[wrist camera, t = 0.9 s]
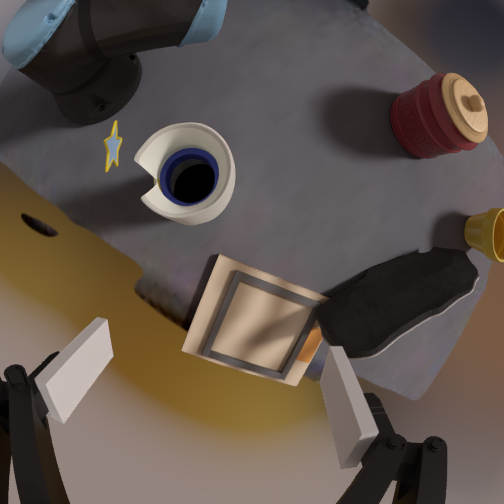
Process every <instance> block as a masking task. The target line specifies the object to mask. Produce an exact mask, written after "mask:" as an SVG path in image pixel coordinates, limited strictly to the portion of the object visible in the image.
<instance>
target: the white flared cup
mask: <svg viewBox="0 0 504 504" xmlns="http://www.w3.org/2000/svg"><path fill="white" fill-rule="evenodd" d="M122 140H123V138H121V137H117V120H115V121H114V124H113V127H112V131H111V135H110V136H109V137H108V138H106V139H105V140H104V145H105V147H106V150H107V157H106V166H105V172H108V170H109V168H110V166H111V164H112V162H113V163H114V165H115V166H116V167H118V151H119V148H120V145H121V143H122ZM134 161H136V162H137V163H138V164H140V165H141V166H142V167H143V168H144V169H145V170H147V171H148V172H149V173H150V174H151V175H152V176H153V177H154V187H153V188H152V189H151V190H150V191H149V192H147V193H146V194H145V195H143V196H142V197H141V200H142V202H143V203H144V204H145V205H146V206H147V207H149V208H150V209H151V210H152V211H154V212H155V213H157V214H159V215H161V216H163V217H165V218H168V219H170V220H173V221H176V222H178V223H181V224H185V225H196V224H201V223H204V222H208V221H210V220H212V219H214V218H215V217H217V216H218V215H219V214H220V213H221V212H222V211H223V210H224V209H225V207H226V206H227V204H228V202H229V201H230V198H231V196H232V193H233V190H234V185H235V165H234V160H233V157H232V154H231V151H230V149H229V147H228V145H227V143H226V142H225V140H224V139H223V138H222V137H221V136H220V135H219V134H218V133H217V132H216V131H215V130H213V129H212V128H210V127H208V126H206V125H204V124H200V123H194V122H189V123H180V124H174V125H171V126H168V127H165V128H163V129H161V130H159V131H158V132H156V133H155V134H153V135H152V136H151V137H150V138H149V139H148V140H147V141H146V142H145V143H144V145H143V146H142V147H141V148H140V149H139V151H138V152H137V154H136V156H135V158H134ZM195 164H208V165H209V166H210V167H211V168H212V169H213V171H214V174H215V183H214V187H213V189H212V191H211V192H210V193H209V195H208V196H207V197H205V198H204V199H203V200H201V201H198V202H195V203H184V202H181V201H180V200H178V199H177V198H176V197H175V196H174V185H175V182H176V179H177V178H178V176H179V175H180V173H181V172H182V171H183V170H185V169H186V168H188V167H189V166H192V165H195Z"/></svg>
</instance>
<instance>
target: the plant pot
mask: <svg viewBox="0 0 504 504" xmlns="http://www.w3.org/2000/svg"><path fill="white" fill-rule="evenodd" d="M464 236H465V240H466V242H467V244H468V245H469V246H471V247H473V248H475V249H476V250H478V251H480V252H482V253H484V254H485V255H486V257H487V258H488V259H490V260H493V261H497V262H504V208H492V209H490V210H489V211H488V212H486V213H482V214H478V215H474V216H470V217H469V218H468V220H467V221H466V224H465V229H464Z"/></svg>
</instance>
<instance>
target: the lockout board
mask: <svg viewBox="0 0 504 504" xmlns="http://www.w3.org/2000/svg"><path fill="white" fill-rule="evenodd" d="M329 299H330V298H329V297H326V296H323V295H321V294H318V293H316V292H313V291H311V290H308V289H306V288H303V287H301V286H298V285H296V284H293V283H291V282H288V281H286V280H283V279H281V278H278V277H276V276H273V275H271V274H268V273H266V272H263V271H261V270H258V269H256V268H253V267H251V266H248V265H246V264H244V263H241V262H239V261H236V260H234V259H231V258H229V257H226V256H224V255H222V254H219V256H218V258H217V261H216V263H215V266H214V268H213V271H212V273H211V276H210V278H209V280H208V283H207V285H206V288H205V290H204V293H203V295H202V298H201V300H200V303H199V305H198V308H197V310H196V313H195V316H194V318H193V321H192V323H191V326H190V328H189V331H188V334H187V336H186V339H185V341H184V344H183V347H182V351H183V352H186V353H189V354H191V355H194V356H197V357H200V358H203V359H205V360H208V361H211V362H214V363H217V364H220V365H223V366H226V367H229V368H232V369H235V370H239V371H242V372H246V373H249V374H252V375H255V376H259V377H263V378H266V379H270V380H274V381H277V382H281V383H285V384H289V385H293V386H297V384H298V383H299V381H300V379H301V377H302V376H303V374H304V372H305V370H306V369H307V367H308V365H309V363H310V362H311V360H312V358H313V356H314V354H315V352H316V350H317V349H318V347H319V345H320V343H321V341H322V339H323V337H322V335H321V328H320V326H319V323H318V320H317V317H316V314H315V311H316V309H317V308H318V307H319V306H321V305H322V304H324V303H325V302H326V301H328V300H329Z"/></svg>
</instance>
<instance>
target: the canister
mask: <svg viewBox="0 0 504 504" xmlns="http://www.w3.org/2000/svg"><path fill="white" fill-rule="evenodd" d="M390 120H391V125H392V129H393V131H394V134H395V136H396V137H397V139H398V141H399V142H400V144H401V145H402V146H403V147H404V148H405V149H406V150H407V151H408V152H409V153H410V154H412V155H414V156H416V157H419V158H426V159H430V158H435V157H437V156H439V155H444V154H448V153H457V152H460V151H461V150H462V149H463V150H472V149H474V148H475V147H476V146H477V145H478V143H480V142H482V141H483V140H484V139H485V137H486V135H487V128H488V123H487V122H488V119H487V112H486V108H485V104H484V101H483V99H482V98H481V97H480V95H479V94H478V92H477V91H476V89H475V88H474V87H473V86H472V85H471V84H470V83H469V82H468V81H466V80H465V79H464V78H463V77H461V76H460V75H458V74H455V73H449V74H444V73H437V74H435V75H433V76H432V77H431V78H430V80H425V81H423V82H421V83H420V84H419V85H418V86H416V87H414V88H412V89H411V90H409V91H406V92H404V93H402V94H400V95H399V96H398V97H397V98H396V99H395V101H394V102H393V103H392V106H391V109H390Z"/></svg>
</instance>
